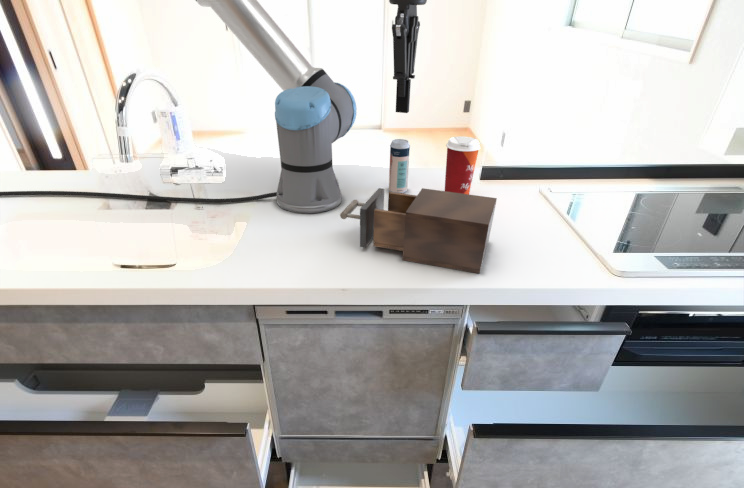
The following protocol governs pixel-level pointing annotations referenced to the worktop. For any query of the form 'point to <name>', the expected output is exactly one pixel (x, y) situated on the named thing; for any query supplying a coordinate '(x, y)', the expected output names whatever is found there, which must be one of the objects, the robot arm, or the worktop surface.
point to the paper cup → (460, 163)
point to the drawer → (381, 219)
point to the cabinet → (448, 229)
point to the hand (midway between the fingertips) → (402, 111)
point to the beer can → (399, 165)
